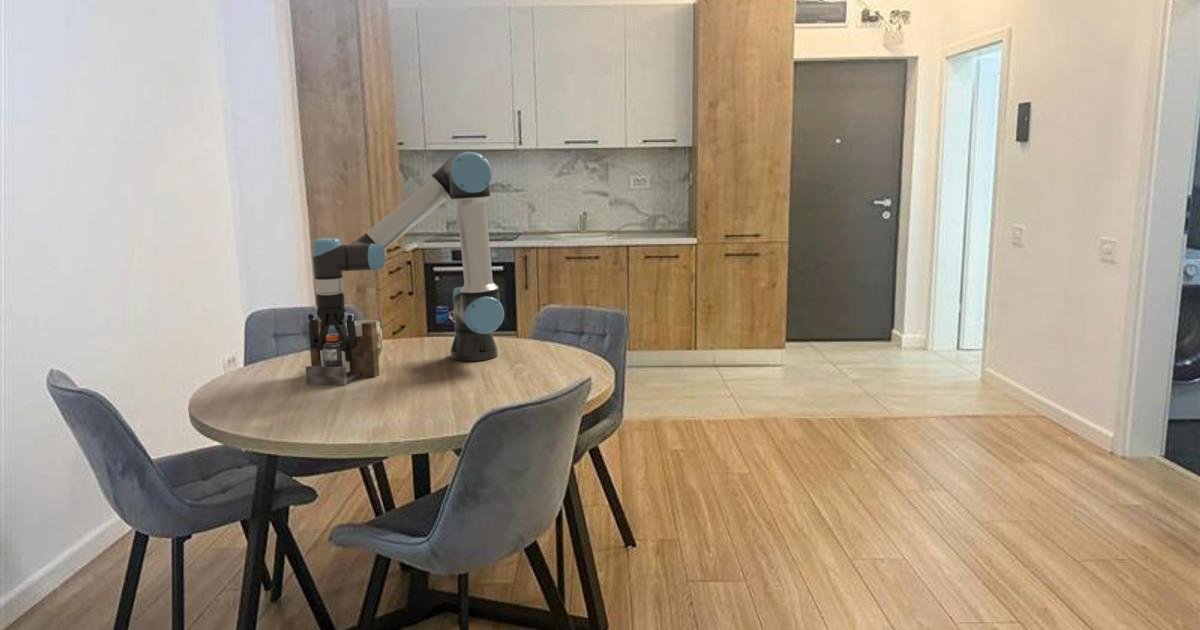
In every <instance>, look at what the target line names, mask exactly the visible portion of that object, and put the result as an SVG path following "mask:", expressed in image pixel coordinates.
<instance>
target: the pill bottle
mask: <svg viewBox="0 0 1200 630" xmlns="http://www.w3.org/2000/svg"><path fill="white" fill-rule="evenodd" d="M343 350H344V348H343V346H342V343H341V340H340V338H339V335H338V333H335V334H334V333H332V334H327V336H326V343H324V345H323V352H324V365H325V367H343V366H342V353H341V351H343Z"/></svg>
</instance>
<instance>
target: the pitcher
mask: <svg viewBox="0 0 1200 630" xmlns="http://www.w3.org/2000/svg"><path fill="white" fill-rule="evenodd" d="M364 322H376V330H377V345H378V360H379V359H380V357H381V354H382V349H383V332H382V331H383V330H382V328H381V326H380V322H381V321H380V320H376V319H375V320H374V319H364V320H363V319H362V320H361V319H360V320H355V321H354V323H355V331H356V335H362V323H364ZM344 324H345V329H347V324H346V322H344ZM346 333H347V335H348V332H347V331H346Z"/></svg>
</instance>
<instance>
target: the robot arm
mask: <svg viewBox="0 0 1200 630" xmlns="http://www.w3.org/2000/svg"><path fill="white" fill-rule="evenodd" d="M492 172H493V171H492V167H491V164H490V162H489V161H488V160H487V159H486V157H484V156H483V155H482V154H480V153H478V152H474V151H469V150H467V151H463V152H459V153H456V154H454V155H452V156H450V157H449V158H448V159H447V160H446V161H445V162H443V164H442V165H441V166H440V167H439V168H438V169H437V170H436V171H434V173H433V174H431V175H430V176H429V180H428V182H426V184H424V185H422V187H420V188H419V189H418V190H417V191H416V192H415V193H413V194H412V195H411V196H409V197H408V198H407V199H405V200H404V201H403V202H402V203H401V204H400V205H398V206H397V207H396V208H395V209H393V210H392V211H391V212H390V213H388V215H386V216H385V217H383V218H382V219H381V220H380V221H379V222H378V223H376V224H375V225H374V226H372V227H371V228H370V229H368V230H367V232H365V233H364V234H363V235H361V236H360V237H359V238H358V239H357V240H354V241H352V242H351V243H350V244H342V243H341V241H340V239H339V238H335V237H334V238H331V237H330V238H328V237H327V238H318V239H315V240H313V242H312V260H313V271H314V283H315V284H314V285H315V292H316V293H317V294H316V297H315V298H316V306H317V310H316V312H313V313H309V314H308V315H307V317H308V320H309V322H310V341H311V348H315V349H317V350H318V360H319V361H321V366H322V367H325V365H324V352H323V345H324V343H326V336H327V335H329V334H328V333H329V328H330V327H331V326H334V329H335V330H336V331H337V334H338V335H339V338H340V340H341V343H342V346H343V348H344V350H343V351H341V353H342V366H343V367H346V373H347V372H349V371H350V363H349V361H351V360H352V356H351V349H353V348H355V347H357V338H356V331H355V323H354V321H356V314H355V313H349V312H347V311H346V308H345V293H343V292H344V277H343V272H353V271H354V272H356V271H357V272H359V271H376V270H383V269H384V268H385V267H386V254H385V253H386V252H385V251H386V250H387V249H389V248H390V246H392V245H393V244H394V243H395V242H397V241H398V240H399V239H401V237H403V236H404V235H405V234H407V233H408V232H409V231H410V230H411V229H413V228H414V227H415V226H416V225H417V224H419V223H420V222H421V221H423V219H425V218H427V217H428V216H429V215H430V214H431V213H433V212H434V211H435V210H436V209H437V208H438V207H440V206H441V205H442V204H443V203H445V202H451V201H452V202H453V203H455V205H456V211H457V221H458V231H459V241H460V250H461V263H462V271H463V274H462V275H463V281H464V282H463V283H464V284H463V286H462V287H455V288H454V289H453V292H452V293H453V294H452V300H453V316H454V317H453V318H454V320H453V321H454V335H453V336H454V337H453V340H452V343H451V348H450V358H451V359H452V360H454V361H459V362H480V361H486V360H492V359H494V358H496V357H498V351H499V350H498V347H497V344H496V342H495V339H494V336H493V332H495V331H496V330H498V329H499V328H500V327H501V325H502V323H503V321H504V319H505V310H504V307H503V305H502V303H501V302H500V291H499V285H497V284H496V283H495V282H494V280H493V268H492V258H491V256H492V255H491V246H490V236H489V235H490V234H489V226H488V225H489V223H488V211H487V202H488V201H489V200H490V199H491V188H490V184H491V181H492V176H493V173H492ZM344 319H345V321H346V322H344ZM319 320H320V321H321V325H320V327H321V329H320V334H319V328H318V321H319ZM345 323H346V324H347V328H346V324H345ZM347 332H348V335H347ZM310 341H309V342H310Z"/></svg>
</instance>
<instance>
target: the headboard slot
mask: <svg viewBox="0 0 1200 630" xmlns="http://www.w3.org/2000/svg"><path fill="white" fill-rule="evenodd" d="M320 325H321V320H318V328H319V334H320V329H321V327H320ZM307 327H308V337H309V338H308V340H309V341H308V342H309V350H310V351H309V352H310V362H311V363H310V364H311V365H308V366H306V367H305V375H306V376H305V377H306V385H310V386H311V385H312V386H313V385H315V386H317V385H318V386H343V387H344V386H347V385H349V384H351V383H353V382H355V381H356V380H358V379H361V378H362V377H365V378H377V377H378V376H380V365H379V364H380V363H379V360H378V345H377V330H376V322H364V323H362V335H356V338H357V347H355V348H353V349H351V356H352V360H351V361H349V363H350V371H349V372H347V373H346V367H322V366H321V361H319V360H318V350H317V349H315V348H311V341H310V321H309V322H307Z"/></svg>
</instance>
